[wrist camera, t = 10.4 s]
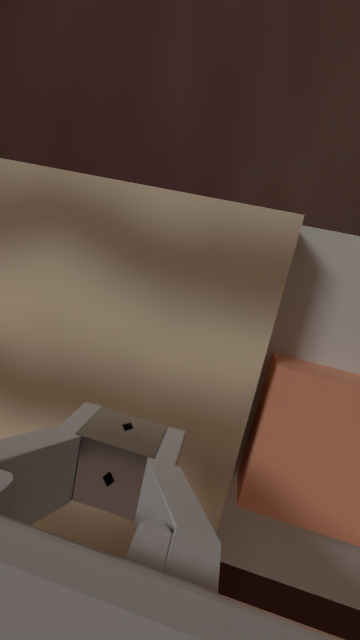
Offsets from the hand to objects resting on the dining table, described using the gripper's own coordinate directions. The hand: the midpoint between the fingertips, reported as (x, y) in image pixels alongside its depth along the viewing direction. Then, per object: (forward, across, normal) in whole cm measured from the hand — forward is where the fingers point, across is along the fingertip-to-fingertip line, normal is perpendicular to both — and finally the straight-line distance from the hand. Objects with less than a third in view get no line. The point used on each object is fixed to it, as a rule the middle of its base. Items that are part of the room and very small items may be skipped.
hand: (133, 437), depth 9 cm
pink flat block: (+6, -8, +1) cm, 10 cm away
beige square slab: (+6, +4, +1) cm, 7 cm away
